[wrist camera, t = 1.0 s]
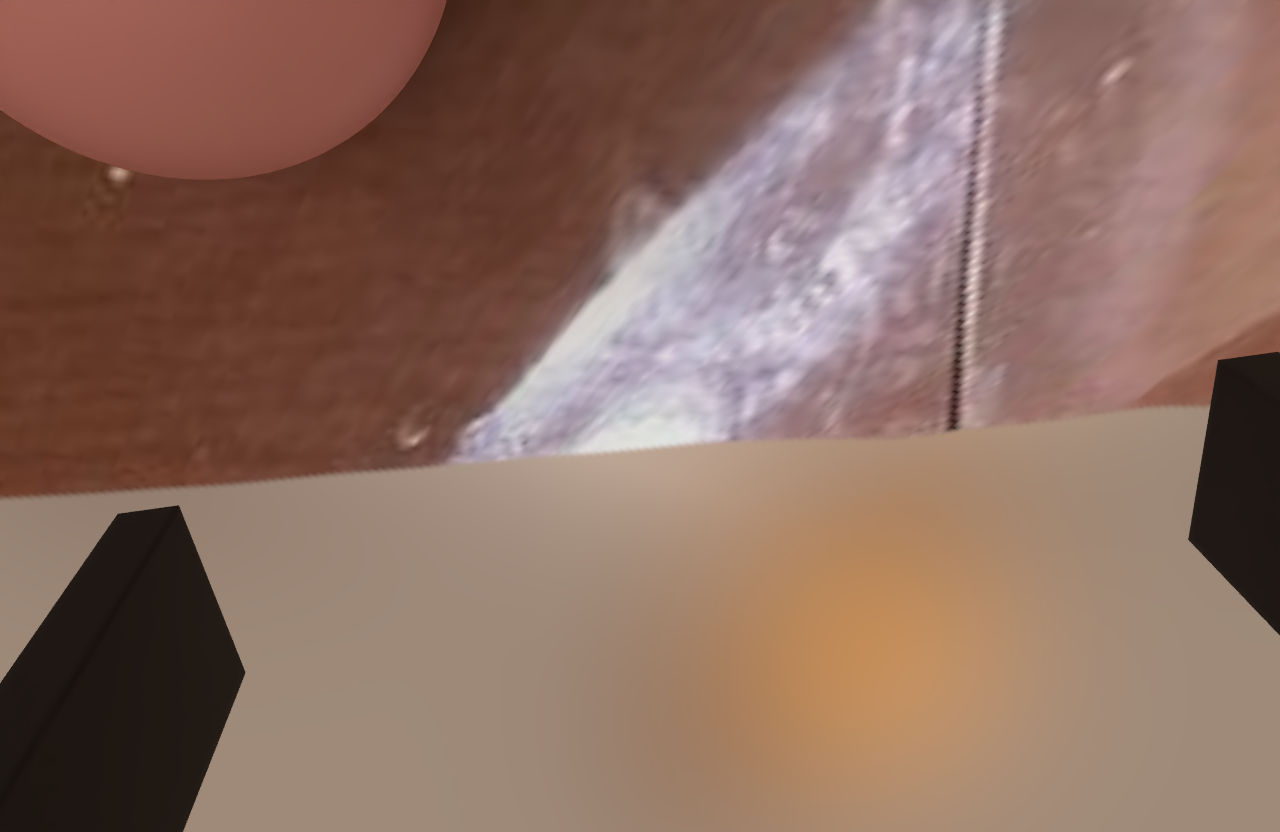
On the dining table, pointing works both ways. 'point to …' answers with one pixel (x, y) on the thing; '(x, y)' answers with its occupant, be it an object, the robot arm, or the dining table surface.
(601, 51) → the dining table surface
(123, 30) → the balloon
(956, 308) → the dining table surface
